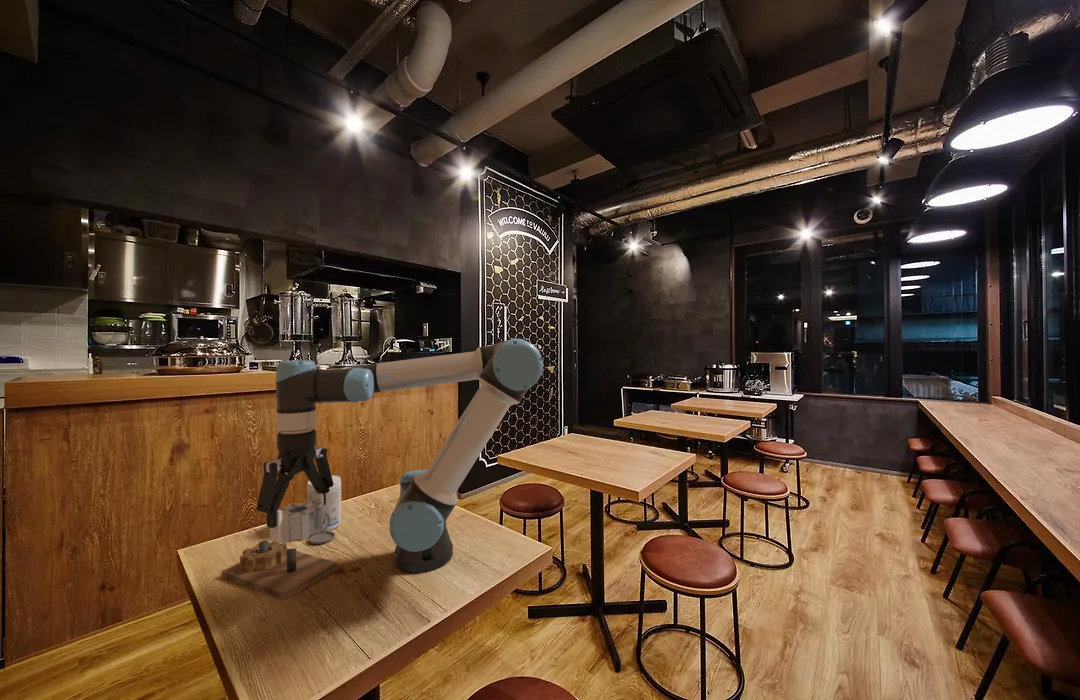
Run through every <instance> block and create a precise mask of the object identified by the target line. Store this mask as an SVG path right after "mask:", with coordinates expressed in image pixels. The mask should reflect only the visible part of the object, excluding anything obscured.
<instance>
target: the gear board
mask: <svg viewBox="0 0 1080 700" xmlns="http://www.w3.org/2000/svg"><path fill="white" fill-rule="evenodd" d="M287 547H288V546H287V542H280V543H278V542H274V541H270V542H269V540H265V539H264V540H262V541H260V542H258V543H257V544H256V545H255V546H253V547H251V548H246V549H244V550H243V551H242V554H240V555H239V563H237V564H234V565H233V566H230V567H228V568H226V569H223V570H221V578H222V579H225V580H228V581H232V582H234V583H236V584H239V585H242V586H244V587H247V588H250V589H252V590H255V591H258V592H261V593H264V594H267V595H269V596H272V597H275V598H278V599H281V600H282V601H286V600H287V599H289V598H291V597H293V596H295V594H296V595H297V594H298V593H300V592H301V591H303V590H305V589H307V588H308V587H310V586H311V585H313V584H315V583H317V582H318V581H320V580H322V579H323V578H325V577H326V576H328V575H330V574H331V573H333V572H335V571H337V570H339V562H336V561H333V560H329V559H325V558H322V557H319V556H315V555H311V554H307V553H305V552H301V551H297V548H296V547H294V548H287Z"/></svg>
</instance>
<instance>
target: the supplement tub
mask: <svg viewBox="0 0 1080 700" xmlns="http://www.w3.org/2000/svg"><path fill="white" fill-rule="evenodd" d="M331 476H332V480H333V487H330V488H329V489H330V491H329V492H328V493H326V504H325V506H324V511H326V512H328V513H329V515H330V524H329V526H328V527H327V528H326V529H325V530H324V531H323V532H330V531H333V530H334V529H336V528H338V527H339V526H340V525H341V524H342V520H343V519H342V517H343V516H342V515H343V514H342V512H343V510H342V509H343V508H342V480H341V476H339V475H332V474H331ZM315 492H316V493H317V491H316V490H315V489H314V487H313V485H312V484H311V482H310V480H308V481H307V486H306V501H313V499H312V493H315ZM323 523H324V522H323Z"/></svg>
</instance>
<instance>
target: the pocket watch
mask: <svg viewBox="0 0 1080 700" xmlns="http://www.w3.org/2000/svg"><path fill="white" fill-rule="evenodd" d="M329 524H330V515H329V513H328V512H326V511H324V523H323V526H322V531H321V532H320V533H314V534H312V535H310V536H309V538H308V542H309V543H310V544H312V545H320V544H326V543H328V542H331V541H333V540H334V539H335V536H336V534H335V531H334V532H333V531H325V532H323V531H324V530H325V529H326V528H327V527H328V526H329Z"/></svg>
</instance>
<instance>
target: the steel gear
mask: <svg viewBox="0 0 1080 700" xmlns="http://www.w3.org/2000/svg"><path fill="white" fill-rule="evenodd" d="M278 510H282V537H283V541H282V542H281V543H290V542H291V541H296V540H301V541H304V540H307V539H310V537H311V536H313V535H315V534H314V533H320V532H321V531H322V526H323V504H322V503H313V501H307V500H306V501H305V502H298V503H296V502H292V503H288V504H287V506H285V507H282V508H280V507H279V509H278Z"/></svg>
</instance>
